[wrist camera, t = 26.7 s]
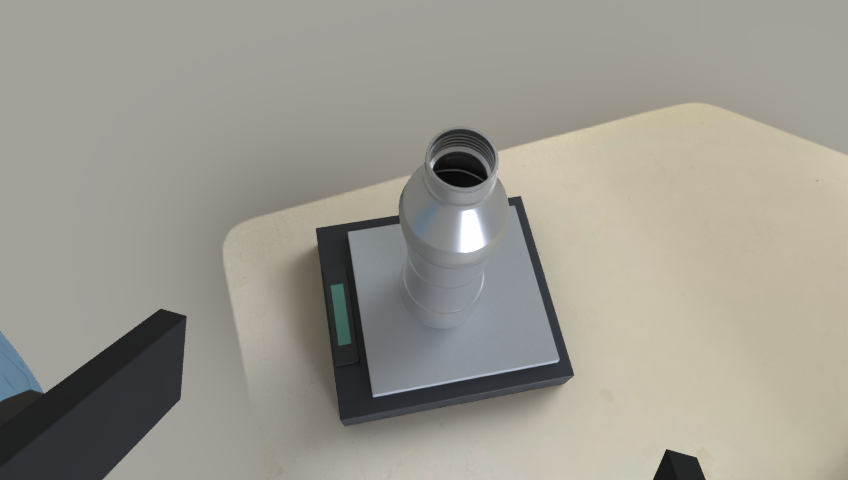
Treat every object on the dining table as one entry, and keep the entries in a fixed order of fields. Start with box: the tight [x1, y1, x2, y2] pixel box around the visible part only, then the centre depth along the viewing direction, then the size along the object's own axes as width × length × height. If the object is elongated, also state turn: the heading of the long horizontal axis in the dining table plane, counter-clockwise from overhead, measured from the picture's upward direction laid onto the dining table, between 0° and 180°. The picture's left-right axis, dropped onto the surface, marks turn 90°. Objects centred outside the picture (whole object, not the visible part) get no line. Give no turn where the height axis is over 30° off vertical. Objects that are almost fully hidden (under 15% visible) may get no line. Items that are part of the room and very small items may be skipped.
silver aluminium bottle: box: [399, 127, 510, 329], centre depth 38 cm, size 6×7×20 cm
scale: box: [316, 196, 574, 426], centre depth 49 cm, size 18×16×4 cm
